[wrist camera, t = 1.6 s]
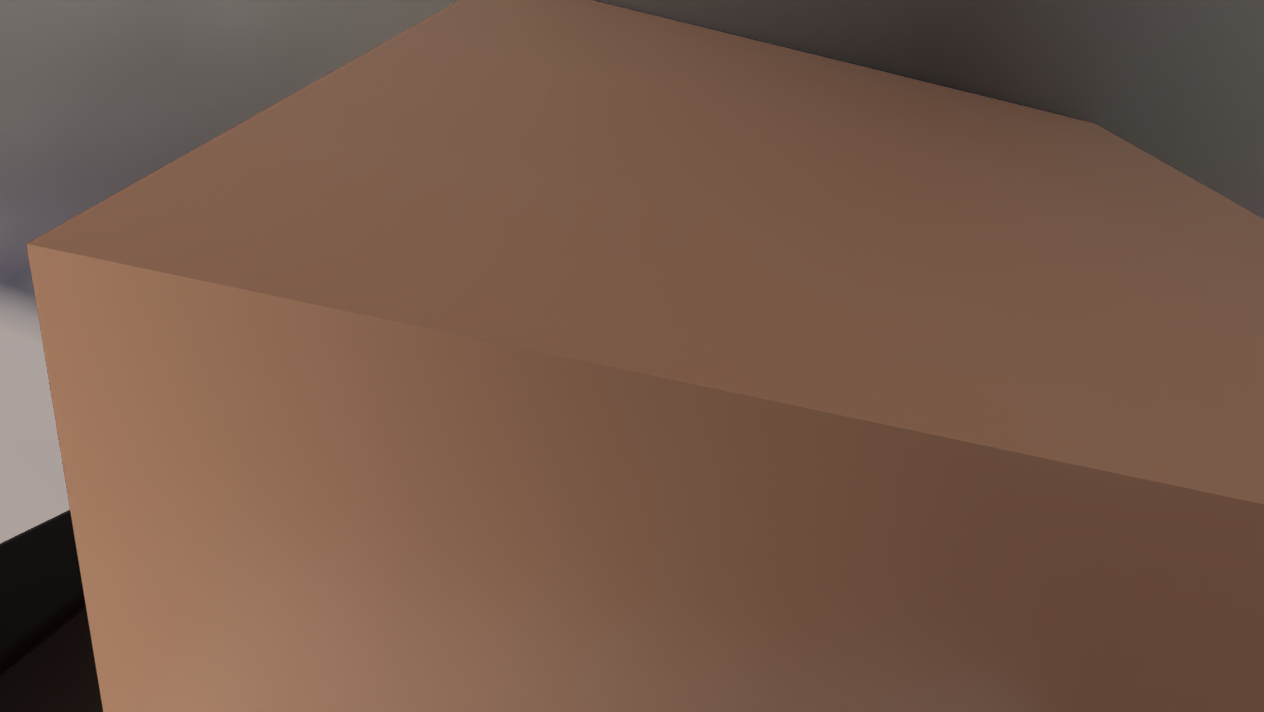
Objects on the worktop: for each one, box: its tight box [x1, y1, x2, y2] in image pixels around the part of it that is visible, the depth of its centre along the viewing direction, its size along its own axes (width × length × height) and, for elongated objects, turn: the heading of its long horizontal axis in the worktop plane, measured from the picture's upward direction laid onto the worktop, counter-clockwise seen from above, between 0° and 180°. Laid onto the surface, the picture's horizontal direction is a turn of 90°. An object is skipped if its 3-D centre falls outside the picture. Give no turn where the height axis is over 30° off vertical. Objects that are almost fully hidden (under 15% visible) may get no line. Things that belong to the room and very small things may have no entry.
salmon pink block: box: [27, 0, 1264, 712], centre depth 8 cm, size 6×9×7 cm
